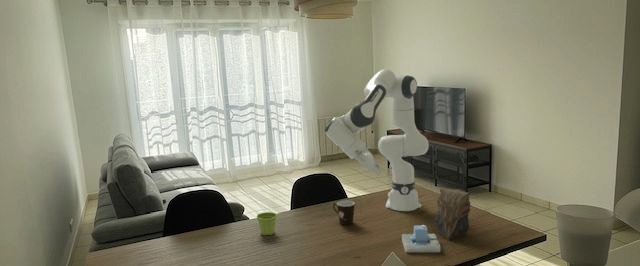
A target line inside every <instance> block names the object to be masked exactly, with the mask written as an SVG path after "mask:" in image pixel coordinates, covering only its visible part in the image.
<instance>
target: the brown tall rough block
mask: <svg viewBox="0 0 640 266" xmlns="http://www.w3.org/2000/svg"><path fill="white" fill-rule="evenodd" d="M439 191H440V194H439V196H438V197H437V200H436V202H437V204H436V206H437V209H438V210H437V213H436V215H435V218H434V222H435V226H436V231H437V232H436V233H438V234H439V235H440V236H442V237H443V238H444V240H445V239H446V240H447V241H449V242H450V241H451V240H456V239H460V238H462V237H463V238H464V237H466V236H467V232H468V231H469V229H470V225H469V214H470V211H471V201H470V195H471V194H470V192H469V191H468V192H466V191H464V190H462V189H460V188H459V189H448V188H440V189H439Z"/></svg>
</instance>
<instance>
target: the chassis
mask: <svg viewBox="0 0 640 266" xmlns="http://www.w3.org/2000/svg"><path fill="white" fill-rule="evenodd" d="M411 235H414V233H402V234H401V241H402V245H403V248H404V252H405V253H441V244H440V242H439V240H438V237H437V236H436V234H435V233H428V234H427V235H429V236H430V238H431V240H427V242H418V243H414V240H412V239H411Z"/></svg>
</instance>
